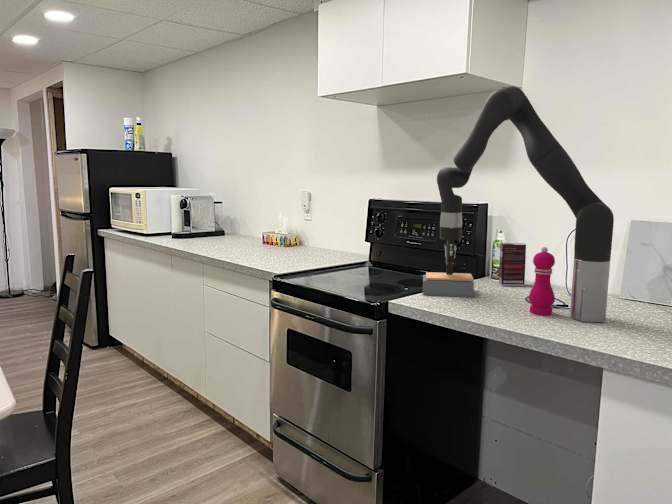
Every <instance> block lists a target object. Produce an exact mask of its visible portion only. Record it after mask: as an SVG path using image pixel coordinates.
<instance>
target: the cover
mask: <svg viewBox="0 0 672 504" xmlns="http://www.w3.org/2000/svg"><path fill="white" fill-rule="evenodd" d="M425 275H426V280H448V281H473V282H474V281H475V278H474V277H473V275H472V273H470V272H467V273H466V272H453V274H452V275H447V274H446V272H437V271H435V272H434V271H430V272H429V271H426V272H425Z"/></svg>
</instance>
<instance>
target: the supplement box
mask: <svg viewBox="0 0 672 504" xmlns="http://www.w3.org/2000/svg"><path fill="white" fill-rule="evenodd" d="M499 244H500V245H499V246H500V248H499V251H500V252H499V268H498V269H499V273H498V284H499V285H500V286H501V287H525V281H526V279H525V278H526V277H525V276H526V259H527V258H526V256H527V255H526V253H527V244H526V243H522V242H519V243H518V242H508V243H507V242H501V243H499Z"/></svg>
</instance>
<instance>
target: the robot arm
mask: <svg viewBox="0 0 672 504" xmlns="http://www.w3.org/2000/svg"><path fill="white" fill-rule="evenodd" d="M508 120H509V121H511V123H512V124H513V125H514V127H515V128H516V129H517V130H518V132H519V133H520V135H521V137H522V140H523V142H524V147H525V150H526V155H527V158H528V161H529V162H530V164H531V165H532V166H533V169H535V170H536V172H538V175H539V176H540V177H541V178H542V179H543V180H544V181H545V183H546V184H547V185H548V186H549V187H550V188H552V189H553V190H554V191H555V192H556V194H558V195H559V196H560V197H561V198H562V199H563V200H564V201H565V203H566V204H567V206H568V207H569V209H570V210H571V212H572V214H573V215H574V217H575V219H576V220H575V229H574V231H575V232H574V249H573V250H574V253H573V271H572V283H571V294H570V295H571V296H570V297H571V298H570V309H569V310H570V311H569V312H570V313H569V317H571V318H572V319H575V320H577V321H580V322H586V323H605V322H606V319H607V304H608V294H609V293H608V291H609V278H610V270H611V269H610V267H611V257H612V256H611V255H612V246H613V245H612V243H613V234H614V225H615V224H614V223H615V222H614V221H615V219H614V218H615V217H614V213H613V211H612V209H611V208H610V207H609V206H608V205H607V204H605V202H604V201H603V200H601V198H599V196H598V195H597V194H596V193H595V192H594V191H593V190H592V189H591V187H590V186H589V185H588V184H587V182H586V181H585V179H584V177H583V176H582V174H581V172H580V170H579V169H578V167H577V165H576V164H575V162H574V161H573V159H572V158H571V156H570V155H569V154H568V152H567V151H566V150H565V148H564V147H563V146H562V145H561V144H560V142H559V141H558V140H557V139H556V137H555V136H554V135H553V134H552V132H551V131H550V129H549V128H548V126H546V124H545V123H544V122H543V120H542V119H541V118H540V116H539V115H538V113H537V112H536V110H535V108H534V107H533V104H532V103H531V102H530V99H529V98H528V96H527V95H526V94H525V92H524V91H523V90H522V89H520V88H519V87H518V86H506V87H503V88H500V89H496V90H495V91H493V92H491V93H490V95H488V97H487V99H486V101H485V103H484V105H483V107H482V109H481V112H480V113H479V116H478V118H477V120H476V122H475V124H474V126H473V128H472V130H471V131H470V133H469V135H468V136H467V138H466V139H465V141H464V142H463V144H462V145H461V146H460V148H459V150H458V151H457V152H456V154H455V155H454V157H453V163H454V165H455V167H454V166H453V167H449V166H447V167H442V168H440V169H439V171H438V172H437V175H436V183H437V188H438V190H439V191H438V192H439V196H440V201H441V203H440V205H441V206H440V218H439V221H440V222H439V239H440V240H444V241H445V240H446V243H444V248H443V249H444V257H445V264H446V265H445V266H446V272H445V273H446V274H447V275H452V274H453V273H454V264H455V259H456V251H457V244H456V243H455V241H459V240H460V241H461V240H462V237H463V213H462V212H463V197H462V196H460V195H458V194H455V193H454V191H453V189H461V188H463V187H464V186H465V185H467V183H468V182H469V179H470V177H471V174H472V172H473V169H474V167H475V166H476V164H477V163H478V161H479V160H480V158H481V157H482V156H483V154H484V152H485V150H486V148H487V145H488V142H489V139H490V138H491V136H492V135H493V133H494V132H495V130H496V129H498V127H500V125H502V124H503V122H505V121H508Z"/></svg>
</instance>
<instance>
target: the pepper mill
mask: <svg viewBox="0 0 672 504" xmlns="http://www.w3.org/2000/svg"><path fill="white" fill-rule="evenodd" d="M540 250H541V252H537V253H536V254H535V255H534V256H533V259H532V263H533V265H534V266H535V267H534V268H533V269H534V271H533V272H534V273H535V280H534V283H533V285H532V288H531V290H530V291H529V294H528V301H529V303H530V304H531V305H529V313H531V314H533V315H537V316H551V315H552V314H553V307H551V306H552V305H554V303H555V300H556V299H555V297H556V296H555V293H554V291H553V288H552V283H551V275H553V269H552V268H553V266H555V264H556V259H555V256H554V255H553V254H552V253H549V252H548V251H549V248H547V247H546V246H543V247H542V248H541V249H540Z"/></svg>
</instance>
